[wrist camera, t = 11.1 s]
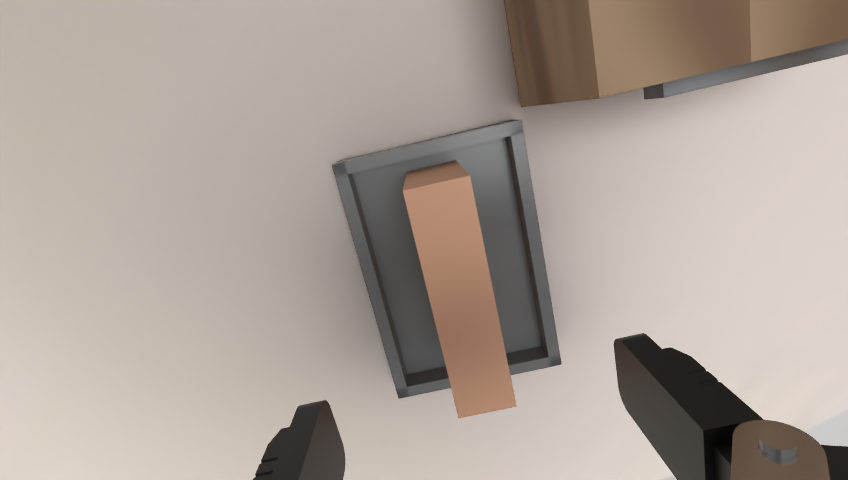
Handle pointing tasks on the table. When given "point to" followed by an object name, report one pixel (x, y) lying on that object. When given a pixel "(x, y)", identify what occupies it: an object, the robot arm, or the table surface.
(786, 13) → the cardboard shipping carton
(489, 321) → the tan rectangular block
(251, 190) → the table surface
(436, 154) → the tray
